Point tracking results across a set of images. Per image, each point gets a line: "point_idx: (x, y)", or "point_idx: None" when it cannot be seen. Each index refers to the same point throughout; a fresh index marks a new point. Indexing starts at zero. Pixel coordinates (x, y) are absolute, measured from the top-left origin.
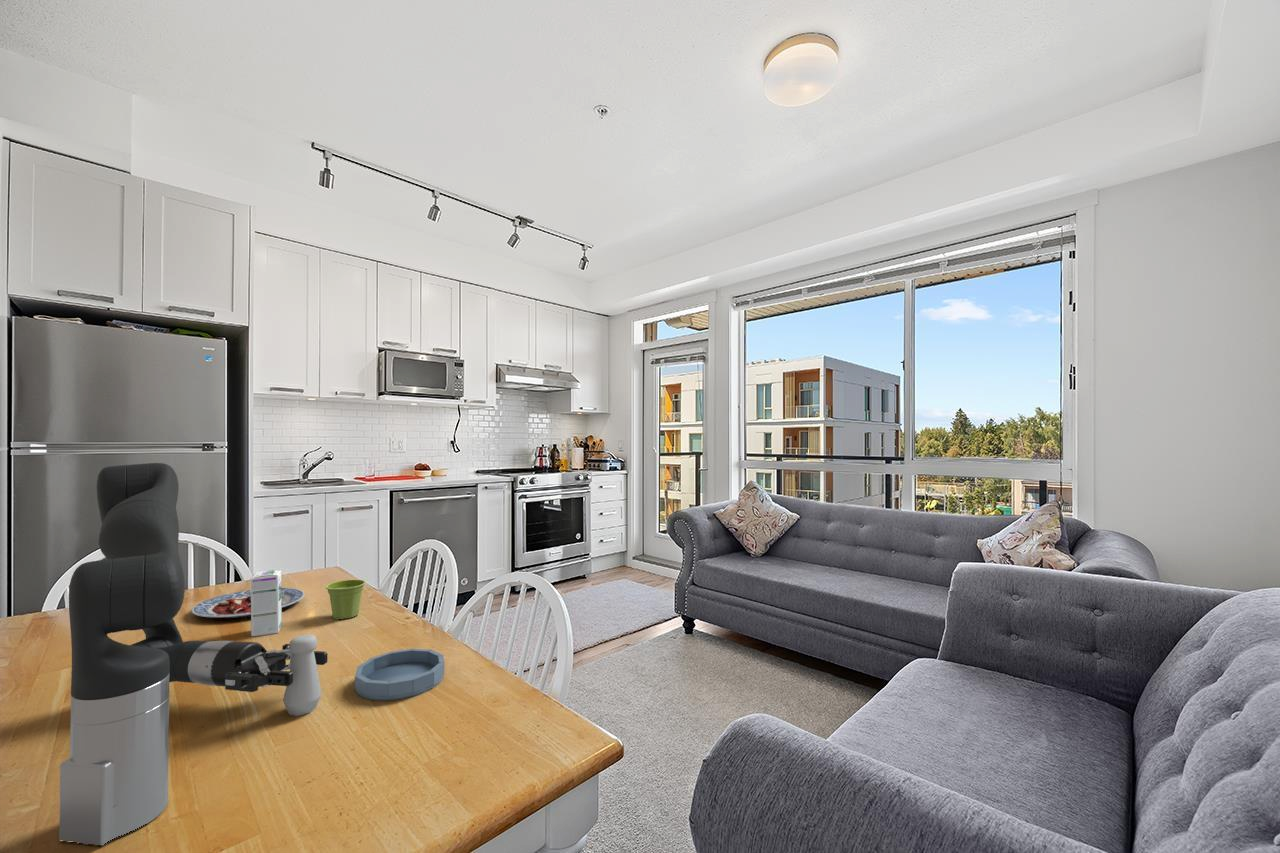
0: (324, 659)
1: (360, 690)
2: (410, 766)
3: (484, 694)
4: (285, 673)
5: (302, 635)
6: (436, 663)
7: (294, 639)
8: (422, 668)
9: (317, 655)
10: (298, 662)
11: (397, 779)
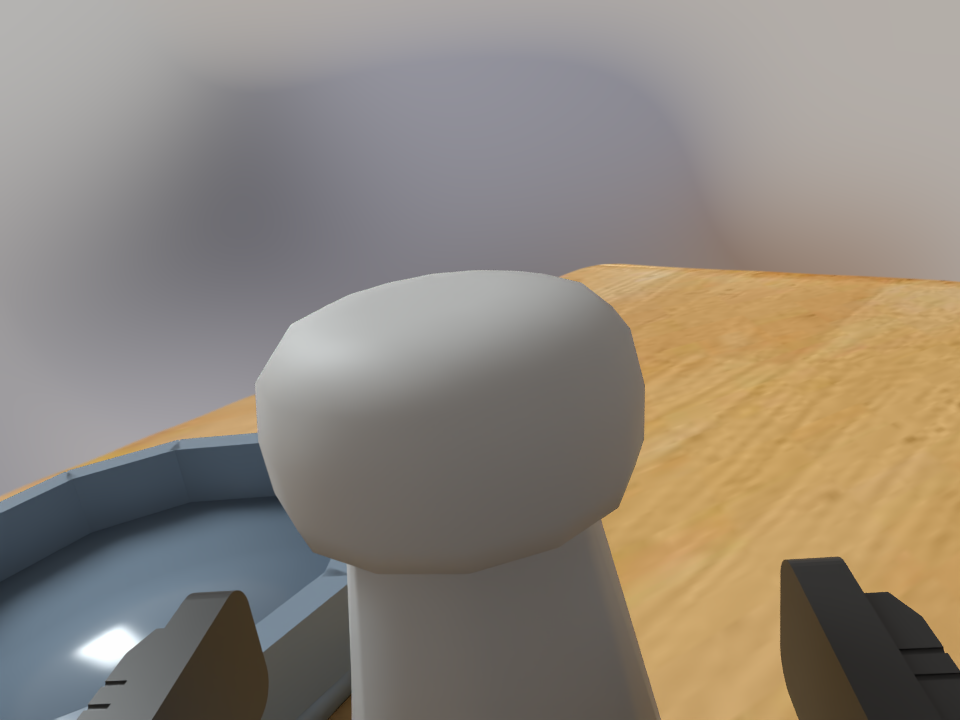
0: (255, 643)
1: (313, 692)
2: (815, 373)
3: None
4: (856, 583)
5: (361, 322)
6: (72, 525)
7: (531, 317)
8: (68, 576)
9: (203, 678)
10: (612, 558)
11: (884, 369)
